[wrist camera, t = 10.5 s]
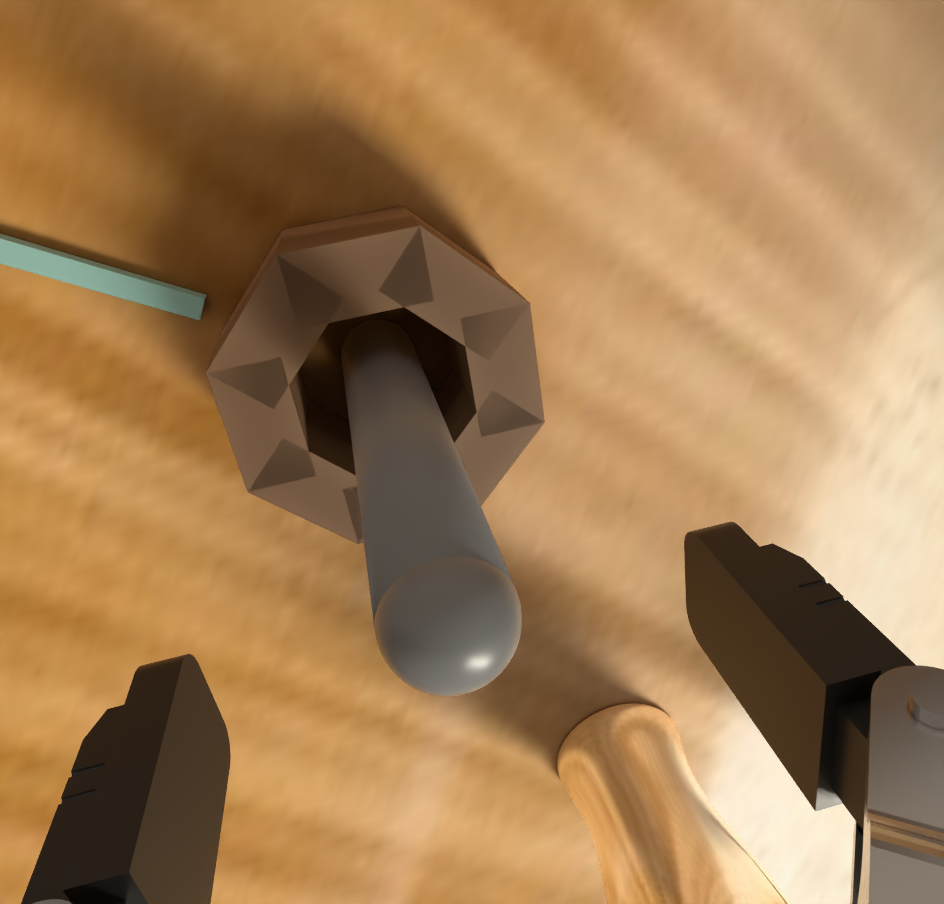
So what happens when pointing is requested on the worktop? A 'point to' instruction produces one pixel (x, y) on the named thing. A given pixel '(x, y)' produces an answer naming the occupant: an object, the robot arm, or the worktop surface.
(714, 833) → the beer glass
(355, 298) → the bead
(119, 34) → the worktop surface
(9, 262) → the teal thin bar
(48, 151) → the worktop surface
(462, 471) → the grey rounded rod
